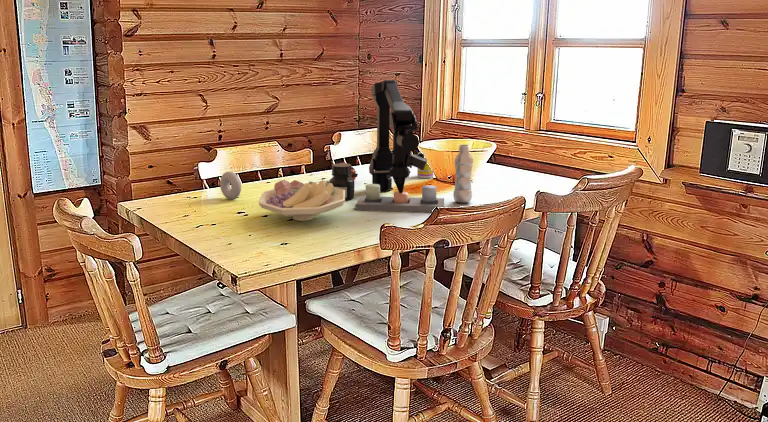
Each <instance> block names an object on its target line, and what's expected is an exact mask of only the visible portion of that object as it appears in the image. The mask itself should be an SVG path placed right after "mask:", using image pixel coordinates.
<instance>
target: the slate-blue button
mask: <svg viewBox="0 0 768 422" xmlns="http://www.w3.org/2000/svg"><path fill="white" fill-rule="evenodd" d="M437 190H438V189H437V186H436V185H430V184H429V185H428V184H427V185H423V186H422V187H421V198H422V200H423V201H436V198H437Z"/></svg>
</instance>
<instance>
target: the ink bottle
mask: <svg viewBox="0 0 768 422" xmlns="http://www.w3.org/2000/svg"><path fill="white" fill-rule="evenodd" d="M345 163H346V162H339V163H333V164H331V176H332V177H331V178H330V179H329V180H328V183H332V184H333V187H335V188H339V189H343V190H345V201H350V200H351V201H352V200H353V199H354V198H355V180H354V179H353V178H352V177H350V176H351V166H352V164H350V163H347V164H345Z"/></svg>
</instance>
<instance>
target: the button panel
mask: <svg viewBox="0 0 768 422" xmlns="http://www.w3.org/2000/svg"><path fill="white" fill-rule="evenodd" d="M435 207H444V208H445V198H443V197H436V201H423V200H422V197H414V196H413V197H411V196H410V197H409V196H408V204H407V203H394V196H380V199H377V200H369V199H366V195H360V197H359V198H358V199H357V201H356V203H355V211H375V212H376V211H377V212H379V211H381V212H404V211H411V212H410V213H433V212H432V210H433V209H434V208H435ZM415 211H417V212H415Z"/></svg>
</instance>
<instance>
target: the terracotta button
mask: <svg viewBox="0 0 768 422" xmlns="http://www.w3.org/2000/svg"><path fill="white" fill-rule="evenodd" d="M393 197H394V203H407V204H408V197H409V191H404V190H403V193H399V191H398V190H396V191H394V192H393Z"/></svg>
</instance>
